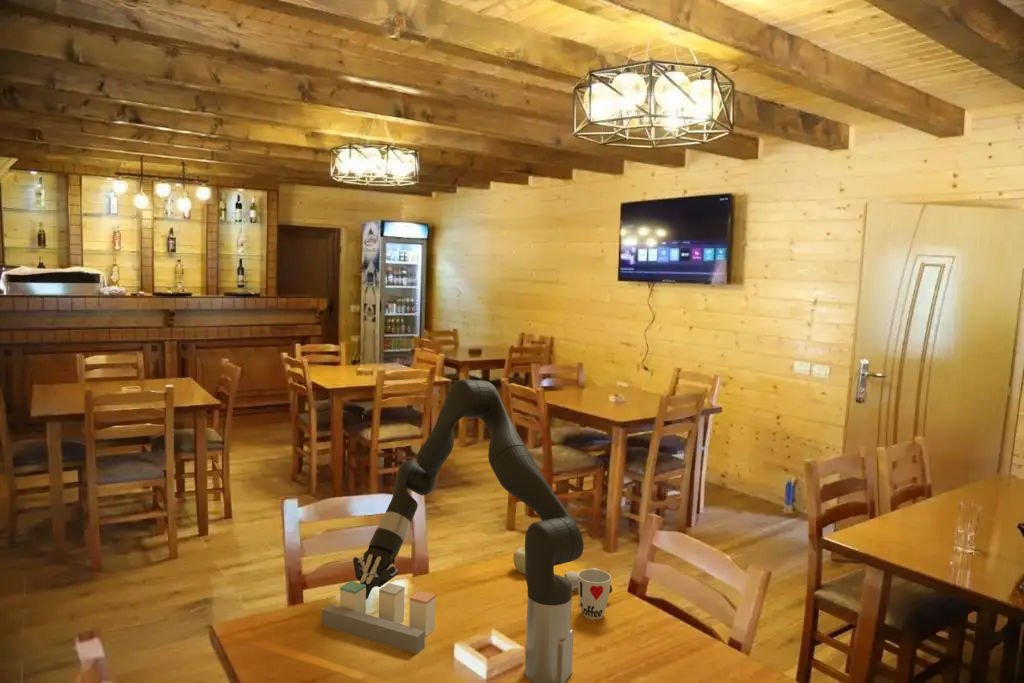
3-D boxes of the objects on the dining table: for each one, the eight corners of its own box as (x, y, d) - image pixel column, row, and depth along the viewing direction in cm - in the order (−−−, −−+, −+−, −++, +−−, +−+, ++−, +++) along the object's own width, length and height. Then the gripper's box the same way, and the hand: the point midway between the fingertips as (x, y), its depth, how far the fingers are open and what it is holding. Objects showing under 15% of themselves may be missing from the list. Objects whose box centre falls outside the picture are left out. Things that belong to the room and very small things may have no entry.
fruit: (544, 572, 199) (545, 545, 199) (525, 579, 194) (526, 551, 194) (525, 564, 205) (526, 537, 204) (507, 570, 200) (508, 543, 199)
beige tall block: (403, 620, 167) (404, 586, 166) (394, 627, 163) (394, 593, 163) (388, 615, 169) (389, 582, 168) (378, 623, 165) (379, 589, 164)
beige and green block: (365, 618, 167) (365, 584, 167) (354, 625, 164) (355, 591, 163) (350, 613, 169) (350, 580, 168) (339, 621, 166) (340, 587, 165)
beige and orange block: (434, 628, 163) (435, 594, 163) (425, 636, 160) (426, 601, 159) (418, 624, 165) (419, 590, 164) (409, 632, 162) (409, 597, 161)
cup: (571, 617, 174) (573, 578, 173) (583, 604, 181) (585, 566, 180) (602, 625, 170) (604, 585, 169) (613, 612, 177) (615, 573, 176)
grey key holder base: (454, 626, 167) (454, 606, 167) (417, 659, 153) (417, 637, 152) (364, 602, 178) (364, 583, 178) (322, 630, 164) (322, 609, 163)
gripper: (362, 522, 178) (330, 588, 169) (406, 532, 173) (375, 600, 163) (375, 536, 184) (344, 600, 174) (418, 545, 178) (388, 612, 168)
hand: (359, 600), depth 168 cm, fingers closed
